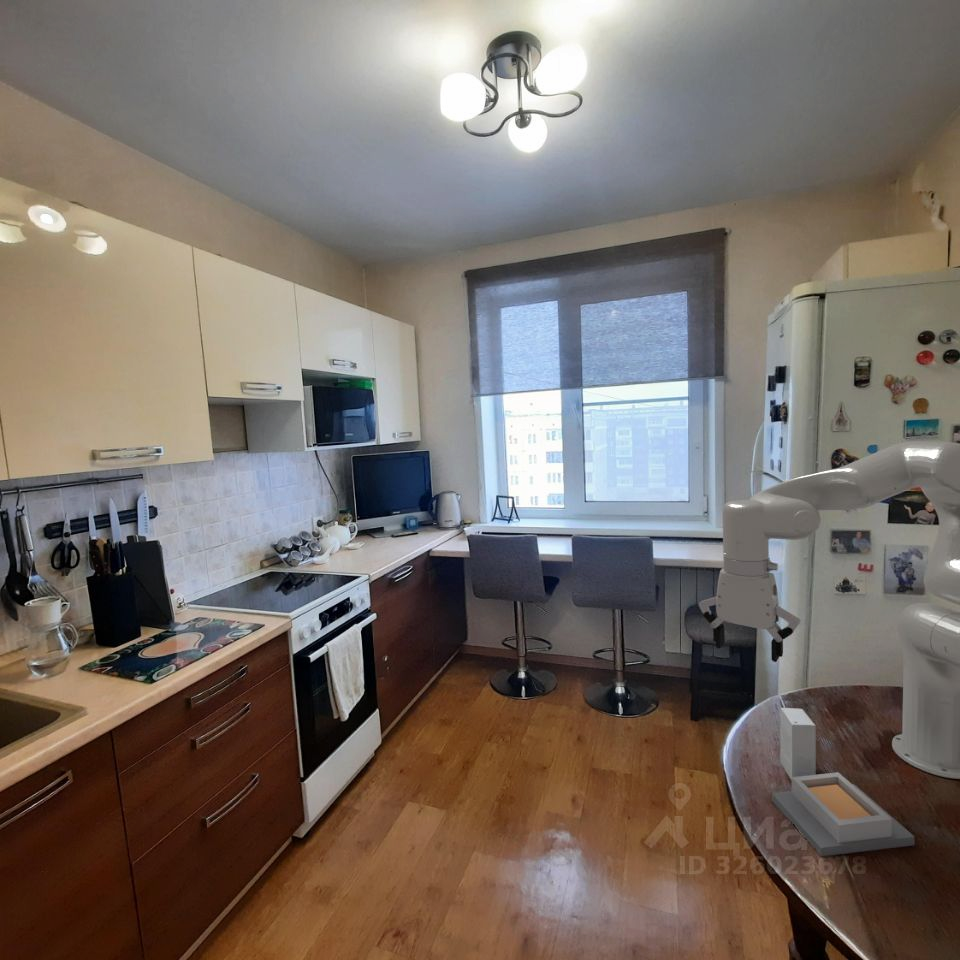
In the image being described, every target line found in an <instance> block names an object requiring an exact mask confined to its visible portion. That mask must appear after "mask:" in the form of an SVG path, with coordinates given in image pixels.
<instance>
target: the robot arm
mask: <svg viewBox="0 0 960 960" xmlns="http://www.w3.org/2000/svg"><path fill="white" fill-rule="evenodd" d="M915 488H920V489H921V491H922V493H923V494H924V496H925V497H926V498H927V499H928V501H929V502H930V503H931V505H932V507H933V508H934V510H935V513H936V515H937V517H938V530H937V534H936V539H935V542H934V545H933V547H932V551H931V553H930V556H929V559H928V562H927V565H926V568H925V572H924V576H923V584H924V585H923V586H924V588H925V589H926V591H928V593H930V594H931V595H933V596H935V597H937V598H938V599H942V600H945V601H946V602H950V603H952V604H956V605H958V606H960V443H958V442H953V441H952V442H951V441H924V440H923V441H922V440H921V441H918V440H917V441H915V440H912V441H904V442H900V443H899V442H898V443H895V444H893V445H890V446H888V447H886V448H883V449H881V450H878V451H876V452H874V453H872V454H869V455H867V456H865V457H862V458H860V459H857V460H855V461H853V462H850V463H847V464H846V465H843V466H840V467H836V468H833V469H828V470H823V471H820V472H816V473H812V474H807V475H803V476H800V477H799V476H798V477H796V478H792V479H788V480H784V481H782V482H780V483H779V482H778V483H776V484H774V485H772V486H770V487H767V488H764V489H762V490H760V491H759V492H757V493H755V494H754V495H751V497H750V498H749V499H737V500H730V501H727V502H726V503H725V504H723V508H722V545H723V546H722V553H723V556H722V557H723V560H722V561H723V568H721V569H720V571H719V576H718V581H717V589H716V596H713V597H709V598H708V599H707V598H706V599H703V600H701V601H699V602H698V607H699V609H700V610H701V612H702V614H703V617H704V619H706V620H707V622H708V623H709V624H710V627H711V628H712V633H713V635H712V636H713V642H714V643H715V648H716V649H721V648H722V647H723V646H724V644H725V643H726V642H725V625H724V624H723V623H724V622H726V623H729V624H735V625H739V626H740V625H741V626H745V627H750V628H754V629H760V630H766V631H767V632H768V634H770V635H771V637H772V640H771V642H770V643H771V647H770V648H771V649H770V650H771V661H772V662H773V663H774V662H775V663H777V661H778V660H779V658H782V657H783V655H784V640H786V639H787V638H788V637H789V636H790V637H791V636H792V634H793V633H794V632H795V631H796V629H797V628H798V626H799V624H800V623H801V619H800V618H799V617H797V616H796V615H794V614H792V613H791V612H789V611H787V610H786V609H784V608H782V607H781V606H780V604H779V596H778V595H779V593H778V587H777V582H776V577H775V574H774V573H773V572H772V571H778V569H779V564H778V563H776V562H772V561H771V559H770V555H769V548H770V547H769V540H772V539H773V540H786V541H787V540H788V541H789V540H790V541H793V540H794V541H798V540H803V539H806V538H809V537H811V536H813V535H814V534H815V533H816V532H817V531H818V530H819V528H820V525H821V514H820V512H819V511H849V510H859V509H865V508H869V507H871V506H873V505H875V504H878V503H880V502H883V501H884V500H887V499H890V498H892V497H894V496H896V495H899V494H902V493H904V492H907V491H908V490H910V489H915ZM712 606H715V613H714V612H713V611H711V610H710V607H712ZM715 614H716V615H715ZM780 618H781V619H783V620H784V621H786V622H787V623H788V624H787V625H786V626H785V627H784V628H782V627H781V626H780V625H779V624H778V622H779V620H780ZM897 631H898V636H899V640H900V641H899V642H900V645H901V650H902V656H903V657H902V659H903V674H902V675H903V679H902V681H903V682H902V683H903V684H902V687H903V688H902V690H903V691H902V727H901V728H902V729H901V730H902V731H901V733H900V734H896V735H895V736H894V737H893V738H892V741H891V746H892V750H893V751H894V753H895V754H896V755H897V756H898V757H899V758H900V759H902V760H903V761H904V762H906V763H908V764H909V765H910V766H913V767H915V768H916V769H919V770H921V771H923V772H926V773H929V774H931V775H935V776H938V777H943V778H948V779H958V780H960V612H959V611H957V610H953V609H951V608H948V607H945V606H943V605H939V604H935V603H929V602H917V603H912V604H909V605H908V606H906V607H904V609H902V611H901V612H900V614H899V616H898V620H897Z"/></svg>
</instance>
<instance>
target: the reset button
mask: <svg viewBox="0 0 960 960" xmlns="http://www.w3.org/2000/svg"><path fill="white" fill-rule="evenodd" d="M809 789H810V790H811V791H812V792H813V793H814V794H815V795H816V796H817V797H818V798H819V799H820V800H821V801H822V802H823V803H824V804H825V805H826V806H827V807H828V808H829V809H830V810H831V811H832V812H833V813H834V814H835V815H836V816H837V817H838V818H839V819H840V820H842V819H851V818H859V817H868V816H871V815H870V814H869V813H868V812H867V811H866V810H864V809H863V808H862V807H861V806H860V805H859V804H858V803H857V802H856V801H855V800H853V799H852V798H851V797H850V796H849V795H848V794H847V793H846V792H845V791H843V790H842V789H841V788H840V787H839V786H838V785H837V784H836V785H828V786H819V787H810V788H809Z"/></svg>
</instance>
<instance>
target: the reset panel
mask: <svg viewBox="0 0 960 960" xmlns="http://www.w3.org/2000/svg"><path fill="white" fill-rule="evenodd" d="M836 784H837V785H838V786H839V787H840V788H841V789H842V790H843V791H845V792H846V793H847V794H848V795H849V796H850V797H851V798H852V799H853V800H855V801H856V802H857V803H858V804H859V805H860V806H861V807H862V808H863V809H864V810H866V811H867V812H868V813H869V814H870V815H871V816H868V817H859V818H851V819H842V820H840V819H839V818H838V817H837V816H836V815H835V814H834V813H833V812H832V811H831V810H830V809H829V808H828V807H827V806H826V805H825V804H824V803H823V802H822V801H821V800H820V799H819V798H818V797H817V796H816V795H815V794H814V793H813V792H812V791H811V790H810V789H809V788H810V787H819V786H828V785H836ZM771 801H772V803H773V804H774V805H775V806H776V807H777V808H778V809H779V811H780V812H781V813H782V814H783V816H785V817H786V819H787V818H788V819H789V820H790V821H791V822H792V823H793V824H794V825H795V826H796V827H797V828H798V829H799V830H800V832H801V833H802V834H803V836H805V838H806V839H807V840H808V841H809V842H810V843H811V844H812V845H813V847H814V848H815V849H816V851H817V852H816V851H815V852H816V853H817V854H818V855H819V856H820V857H827V856H836V855H843V854H845V855H846V854H852V853H859V852H869V851H877V850H884V849H893V848H895V849H896V848H903V847H910V846H915V836H914V835H913V834H912V833H911V832H910V831H908V830H907V829H906V827H904V826H903V825H902V824H900V823H899V822H898V821H897V820H896V819H895V818H894V817H892V815H890V814H889V813H888V812H887V811H886V810H884V808H882V807H881V806H880V805H879V804H877V802H876V801H874V800H873V799H872V798H871V797H870V796H868V795H867V794H866V793H865V792H864V791H863V790H861V789H860V788H859V787H858V786H857V785H856V784H854V783H851V782H850V781H849V780H848V779H847V778H846V777H844V776H843V775H842V774H841V773H840V772H838V771H836V772H829V773H819V774H818V773H817V774H816V775H809V776H800V777H792V780H791V790H787V791H786V790H785V791H779V792H778V791H777V792H771ZM788 819H787V820H788ZM789 820H788V821H789ZM790 821H789V822H790ZM791 822H790V823H791ZM792 823H791V824H792ZM793 824H792V825H793ZM794 825H793V826H794ZM800 832H799V833H800ZM801 833H800V834H801ZM803 836H802V837H803ZM805 838H804V839H805ZM806 839H805V840H806ZM807 840H806V841H807ZM808 841H807V842H808ZM813 847H812V848H813ZM814 848H813V849H814ZM815 849H814V850H815Z"/></svg>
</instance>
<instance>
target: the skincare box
mask: <svg viewBox="0 0 960 960" xmlns="http://www.w3.org/2000/svg"><path fill="white" fill-rule="evenodd" d="M779 709H780V730H779V731H780V734H779V735H780V741H779V742H780V758H779V759H780V761H779V762H780V764H781V766H782V767H783V768H784V770H785V772H786V774H787V775H788V777H789V779H790V780H791V781H792V777H800V776H809V775H817V774H816V773H817V772H816V771H817V770H816V767H817V765H816V764H817V763H816V761H817V760H816V759H817V758H816V757H817V755H816V754H817V753H816V752H817V749H816V747H817V745H816V744H817V743H816V742H817V741H816V740H817V739H816V737H817V732H816V731H817V730H816V729H817V728H816V726H817V725H816V724H815V723H814V722H813V720H812V719H811V718H810V717H809V715H808V714H807V713H806V712H805V710H803V708H794V707H793V708H792V707H780V708H779Z"/></svg>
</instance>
